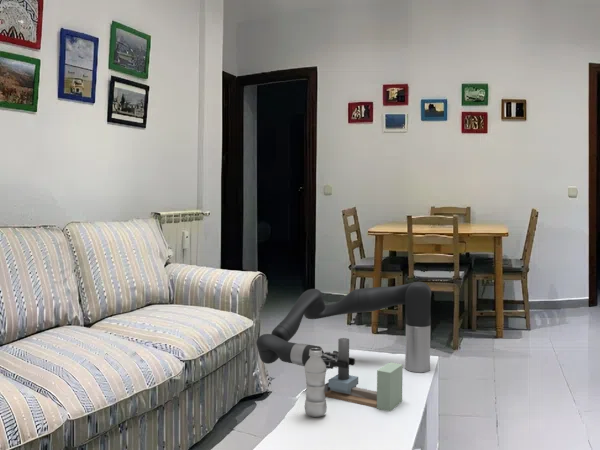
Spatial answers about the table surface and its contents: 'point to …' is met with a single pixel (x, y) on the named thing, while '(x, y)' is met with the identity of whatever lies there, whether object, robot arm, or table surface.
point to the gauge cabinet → (389, 386)
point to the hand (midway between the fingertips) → (351, 363)
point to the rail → (354, 396)
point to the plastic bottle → (315, 384)
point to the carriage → (343, 371)
